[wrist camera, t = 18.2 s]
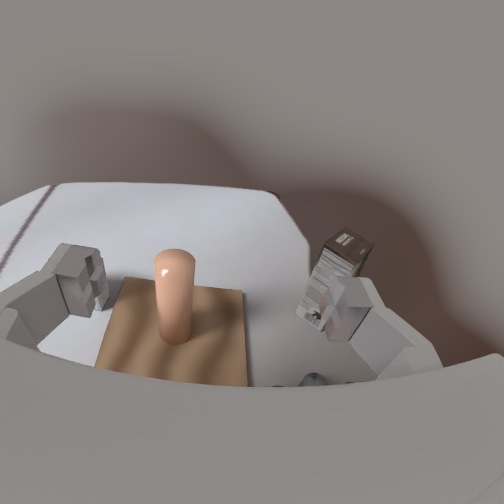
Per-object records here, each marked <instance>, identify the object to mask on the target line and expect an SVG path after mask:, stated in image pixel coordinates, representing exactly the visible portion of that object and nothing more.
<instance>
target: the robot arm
mask: <svg viewBox="0 0 504 504" xmlns="http://www.w3.org/2000/svg"><path fill="white" fill-rule="evenodd" d="M100 260H101V256H100V251H99V250H98V249H97V248H91V247H85V246H78V245H71V244H65V243H62V244H59V246H58V247H57V248H56V250H55V251H54V252H53V254H52V255H51V257H50V258H49V259H48V261H47V262H46V264H45V265H44V267H43V268H42V269H41V271H36V272H34V273H32V274H31V275H29V276H27V277H26V278H24V279H22V280H20V281H19V282H17V283H15V284H14V285H12V286H11V287H9V288H7V289H6V290H4V291H2V292H1V293H0V504H504V358H503V357H502V356H501V355H499V354H490V355H487V356H484V357H481V358H478V359H474V360H471V361H467V362H464V363H460V364H457V365H453V366H449V367H445V368H443V366H442V363H441V362H440V359H439V357H438V355H437V353H436V351H435V349H434V347H433V345H432V343H431V342H430V341H428V340H427V339H426V338H425V337H424V336H422V335H421V334H420V333H419V332H418V331H416V330H415V329H414V328H413V327H411V326H410V325H409V324H408V323H407V322H405V321H404V320H403V319H402V318H400V317H399V316H398V315H397V314H395V313H394V312H393V311H392V310H390V309H389V308H386V307H385V305H384V303H383V301H382V300H381V298H380V296H379V294H378V292H377V290H376V288H375V286H374V285H373V283H372V281H371V280H370V279H369V278H362V277H345V276H332V277H331V278H330V279H329V281H328V287H329V289H328V290H326V291H325V292H324V293H323V294H322V297H321V299H320V305H319V310H320V315H321V318H322V319H323V320H325V321H326V324H325V326H324V328H325V332H326V335H327V338H328V341H349V342H348V343H349V344H350V345H351V346H352V347H353V348H354V350H355V351H356V352H357V353H358V354H359V355H360V356H361V358H362V359H363V360H364V361H365V362H366V363H367V364H368V366H369V367H370V368H371V369H372V370H373V371H374V372H375V374H376V375H377V377H376V378H375V379H374V380H373V381H367V382H358V383H349V384H338V385H325V386H307V387H236V386H218V385H205V384H194V383H185V382H176V381H168V380H161V379H154V378H147V377H141V376H136V375H130V374H125V373H120V372H115V371H110V370H105V369H101V368H96V367H92V366H88V365H84V364H80V363H76V362H73V361H69V360H66V359H62V358H59V357H55V356H52V355H49V354H46V353H43V352H41V351H40V350H39V348H38V347H37V345H38V344H39V343H40V342H41V341H42V340H43V339H44V338H45V337H46V336H47V335H49V334H50V333H51V332H52V331H53V330H54V329H55V328H56V327H57V326H58V325H60V324H61V323H62V322H63V321H64V320H65V319H66V318H67V317H69V316H70V315H69V314H71V315H76V316H81V317H87V318H90V317H91V315H92V312H93V310H94V307H95V305H96V302H95V298H96V297H97V296H99V295H100V293H101V291H102V289H103V283H104V272H103V268H102V267H101V266H100V265H99V264H98V263H99V262H100Z"/></svg>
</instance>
